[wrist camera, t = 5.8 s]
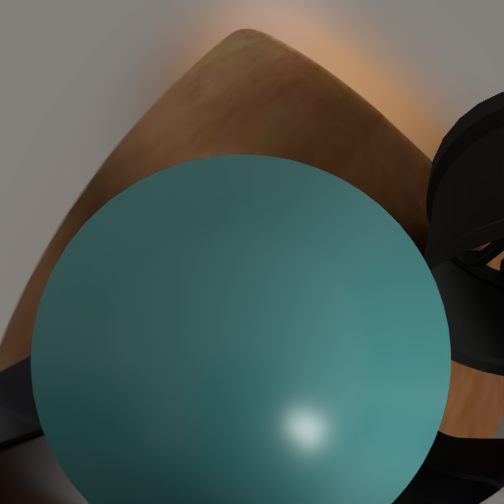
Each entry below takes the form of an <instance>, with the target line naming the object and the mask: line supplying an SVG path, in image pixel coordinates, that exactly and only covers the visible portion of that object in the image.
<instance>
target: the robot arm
mask: <svg viewBox="0 0 504 504" xmlns="http://www.w3.org/2000/svg"><path fill="white" fill-rule="evenodd" d="M0 504H89V503H88V502H87V500H86V499H85V498H84V497H83V496H82V495H81V494H80V492H79V491H78V490H77V489H76V488H75V487H74V485H73V484H72V483H71V482H70V480H69V479H68V477H67V476H66V474H65V473H64V471H63V469H62V468H61V466H60V465H59V463H58V461H57V460H56V458H55V456H54V455H53V453H52V450H51V448H50V446H49V444H48V441H47V439H46V436H45V434H44V432H43V429H42V426H41V423H40V420H39V416H38V412H37V408H36V404H35V400H34V395H33V387H32V376H31V355H29V356H27V357H26V358H24V359H22V360H21V361H19V362H17V363H15V364H13V365H11V366H10V367H8V368H6V369H4V370H2V371H0ZM392 504H504V439H478V438H457V437H452V436H449V435H446V434H444V433H442V432H440V431H438V432H437V435H436V437H435V440H434V442H433V444H432V446H431V448H430V450H429V452H428V454H427V456H426V458H425V460H424V462H423V464H422V465H421V467H420V468H419V470H418V471H417V473H416V474H415V476H414V477H413V479H412V480H411V481H410V483H409V484H408V485H407V487H406V488H405V489H404V490H403V491H402V492H401V494H400V495H399V496H398V497H397V498H396V499H395V500H394V502H393V503H392Z"/></svg>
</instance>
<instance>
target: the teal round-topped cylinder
mask: <svg viewBox="0 0 504 504" xmlns="http://www.w3.org/2000/svg"><path fill="white" fill-rule="evenodd" d="M450 373H451V348H450V337H449V328H448V323H447V319H446V314H445V310H444V305H443V302H442V299H441V296H440V293H439V290H438V288H437V285H436V282H435V280H434V278H433V276H432V274H431V272H430V269H429V267H428V265H427V263H426V261H425V260H424V258H423V256H422V255H421V253H420V252H419V250H418V248H417V247H416V245H415V244H414V242H413V241H412V240H411V238H410V237H409V236H408V235H407V233H406V232H405V231H404V230H403V228H402V227H401V226H400V225H399V223H398V222H397V221H396V220H395V219H394V218H393V217H392V216H391V215H390V214H389V213H388V212H387V211H386V210H385V209H383V208H382V207H381V206H380V205H379V204H378V203H376V202H375V201H374V200H373V199H371V198H370V197H369V196H367V195H366V194H365V193H364V192H362V191H361V190H359V189H357V188H356V187H354V186H352V185H351V184H349V183H348V182H346V181H344V180H343V179H341V178H339V177H336V176H334V175H332V174H330V173H328V172H325V171H323V170H321V169H319V168H316V167H313V166H310V165H306V164H303V163H300V162H297V161H294V160H288V159H283V158H278V157H272V156H264V155H247V154H236V155H222V156H212V157H207V158H201V159H197V160H192V161H187V162H184V163H181V164H178V165H175V166H172V167H169V168H166V169H163V170H160V171H158V172H156V173H154V174H152V175H150V176H148V177H146V178H144V179H142V180H140V181H138V182H136V183H134V184H132V185H131V186H130V187H128V188H127V189H125V190H124V191H122V192H121V193H119V194H118V195H116V196H115V197H114V198H112V199H111V200H109V201H108V202H107V203H106V204H105V205H104V206H103V207H101V208H100V209H99V210H98V211H97V212H96V213H95V214H94V215H93V216H92V217H91V218H90V219H89V220H87V221H86V223H85V224H84V225H83V226H82V227H81V229H80V230H79V231H78V232H77V234H76V235H75V236H74V237H73V239H72V240H71V241H70V242H69V244H68V245H67V246H66V248H65V250H64V251H63V253H62V255H61V256H60V258H59V260H58V261H57V263H56V265H55V267H54V268H53V270H52V272H51V274H50V277H49V279H48V282H47V284H46V286H45V289H44V292H43V294H42V297H41V299H40V302H39V306H38V311H37V315H36V319H35V324H34V328H33V335H32V347H31V376H32V387H33V395H34V400H35V404H36V408H37V412H38V416H39V420H40V423H41V426H42V429H43V432H44V434H45V436H46V439H47V441H48V444H49V446H50V448H51V450H52V453H53V455H54V456H55V458H56V460H57V461H58V463H59V465H60V466H61V468H62V469H63V471H64V473H65V474H66V476H67V477H68V479H69V480H70V482H71V483H72V484H73V485H74V487H75V488H76V489H77V490H78V491H79V492H80V494H81V495H82V496H83V497H84V498H85V499H86V500H87V502H88V503H89V504H392V503H393V502H394V500H395V499H396V498H397V497H398V496H399V495H400V494H401V492H402V491H403V490H404V489H405V488H406V487H407V485H408V484H409V483H410V481H411V480H412V479H413V477H414V476H415V474H416V473H417V471H418V470H419V468H420V467H421V465H422V464H423V462H424V460H425V458H426V456H427V454H428V452H429V450H430V448H431V446H432V444H433V442H434V440H435V437H436V435H437V432H438V429H439V427H440V424H441V421H442V418H443V414H444V410H445V406H446V402H447V397H448V390H449V382H450Z"/></svg>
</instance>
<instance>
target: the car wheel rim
mask: <svg viewBox="0 0 504 504" xmlns="http://www.w3.org/2000/svg"><path fill="white" fill-rule="evenodd" d="M427 216H428V221H429V225H430V227H429V232H428V238H427V243H426V248H425V253H424V260H425V261H426V263H427V265H428V267H429V269H430V272H431V274H432V276H433V278H434V280H435V282H436V285H437V288H438V290H439V293H440V296H441V299H442V302H443V305H444V310H445V314H446V319H447V323H448V328H449V337H450V348H451V360H453V361H455V362H458V363H460V364H463V365H465V366H468V367H471V368H474V369H477V370H481V371H484V372H487V373H492V374H497V375H501V376H504V259H502V260H501V265H500V271H499V270H496V269H493V268H491V267H489V266H487V265H486V264H487V263H488V262H490V261H491V260H492V259H493V258H495V257H496V256H497V255H499V254H500V253H501V252H502V251H504V92H502V93H499V94H497V95H495V96H493V97H491V98H489V99H487V100H485V101H483V102H481V103H479V104H477V105H476V106H475V107H474V108H472V109H471V110H470V111H469V112H467V113H466V114H465V115H463V116H462V117H461V118H460V119H459V120H458V121H457V122H456V124H455V125H454V126H453V127H452V128H451V130H450V131H449V132H448V133H447V134H446V136H445V137H444V138H443V140H442V142H441V144H440V146H439V149H438V151H437V153H436V155H435V157H434V159H433V162H432V168H431V173H430V179H429V184H428V192H427ZM490 242H491V243H490ZM487 243H490V244H489V245H488V246H486V247H485V248H484V249H483V250H481V251H475V250H470V249H473V248H476V247H479V246H482V245H484V244H487Z"/></svg>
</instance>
